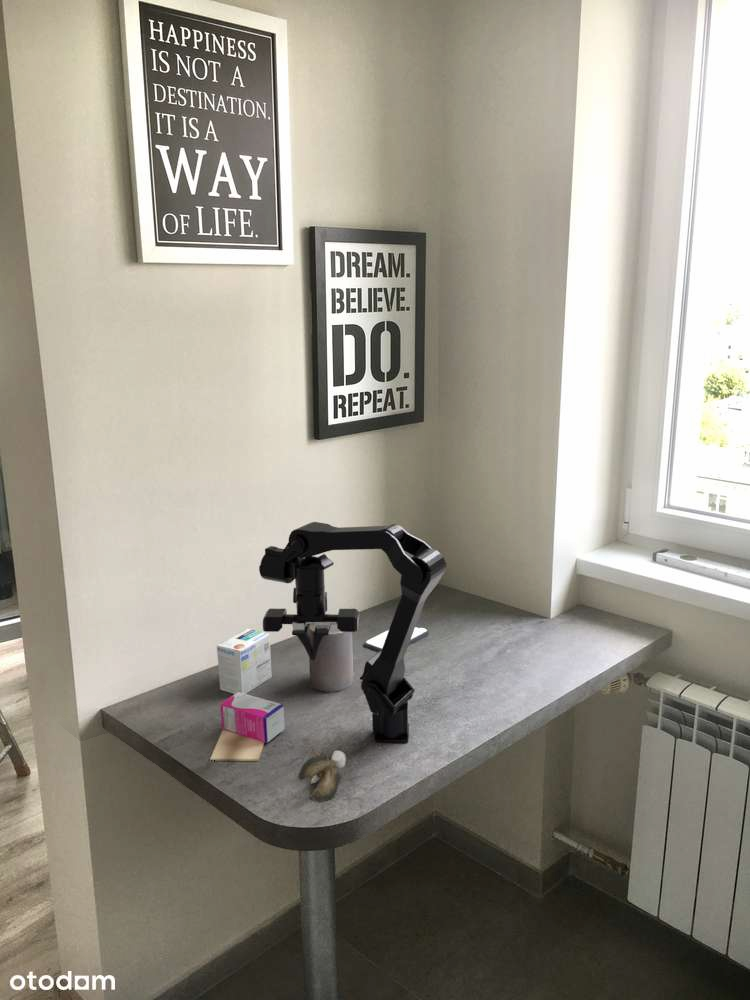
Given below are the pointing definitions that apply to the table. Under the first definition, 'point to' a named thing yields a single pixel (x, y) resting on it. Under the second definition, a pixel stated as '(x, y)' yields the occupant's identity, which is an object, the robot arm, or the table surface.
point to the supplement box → (252, 717)
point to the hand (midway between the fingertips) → (313, 659)
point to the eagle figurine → (323, 773)
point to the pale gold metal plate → (236, 748)
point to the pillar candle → (332, 661)
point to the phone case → (378, 641)
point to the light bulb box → (244, 661)
